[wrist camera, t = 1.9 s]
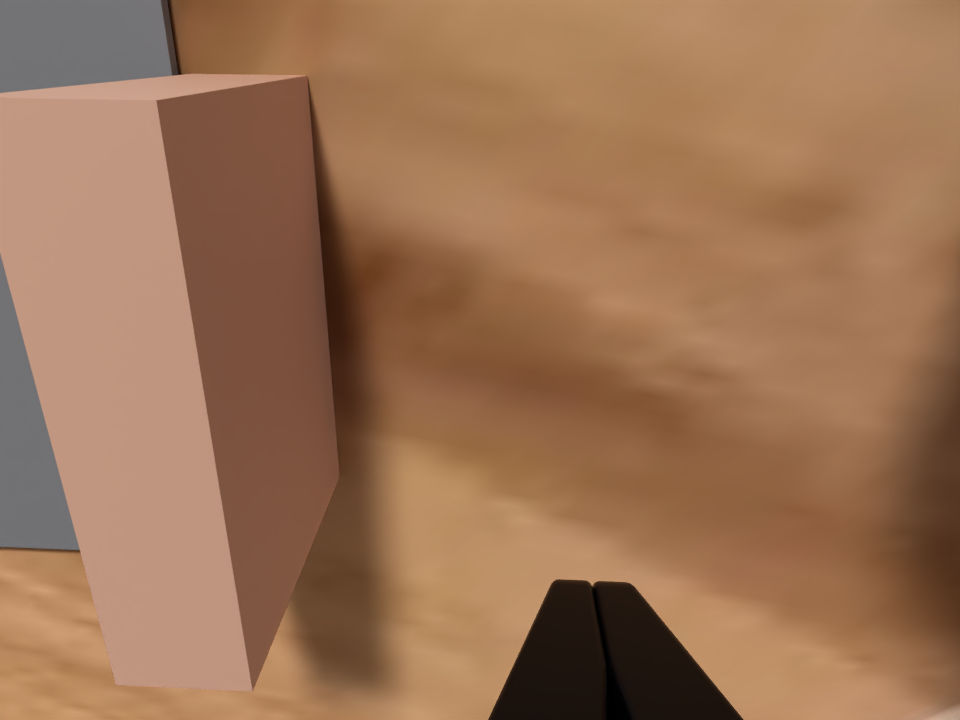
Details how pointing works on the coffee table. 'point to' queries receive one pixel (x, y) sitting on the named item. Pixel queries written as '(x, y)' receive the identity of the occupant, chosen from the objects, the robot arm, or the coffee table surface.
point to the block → (177, 353)
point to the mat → (3, 357)
